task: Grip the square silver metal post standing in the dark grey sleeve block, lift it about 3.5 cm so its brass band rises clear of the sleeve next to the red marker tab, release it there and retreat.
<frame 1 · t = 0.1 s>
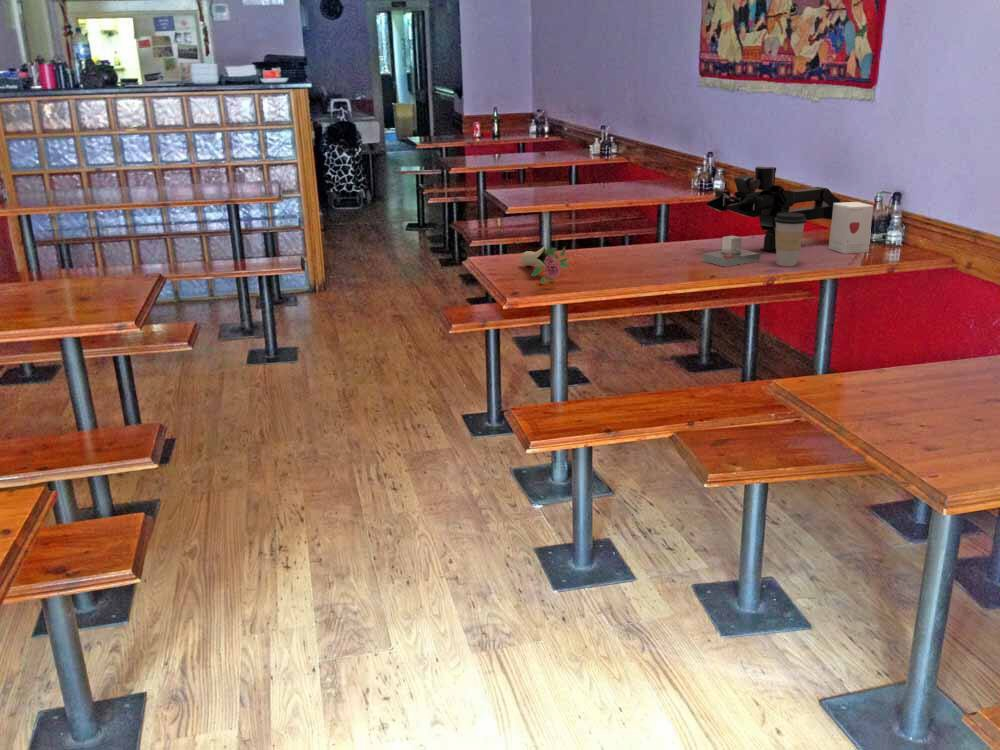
hand: (716, 205, 284), 17 cm above the table, tool horizontal, fingers open, 9 cm apart
coffee cup: (786, 265, 281), on the table
sleeve block: (730, 261, 286), on the table
supplement box: (848, 251, 299), on the table
flower vase: (542, 279, 269), on the table
post: (731, 249, 285), point 4 cm above the table, slide at 0.0 cm
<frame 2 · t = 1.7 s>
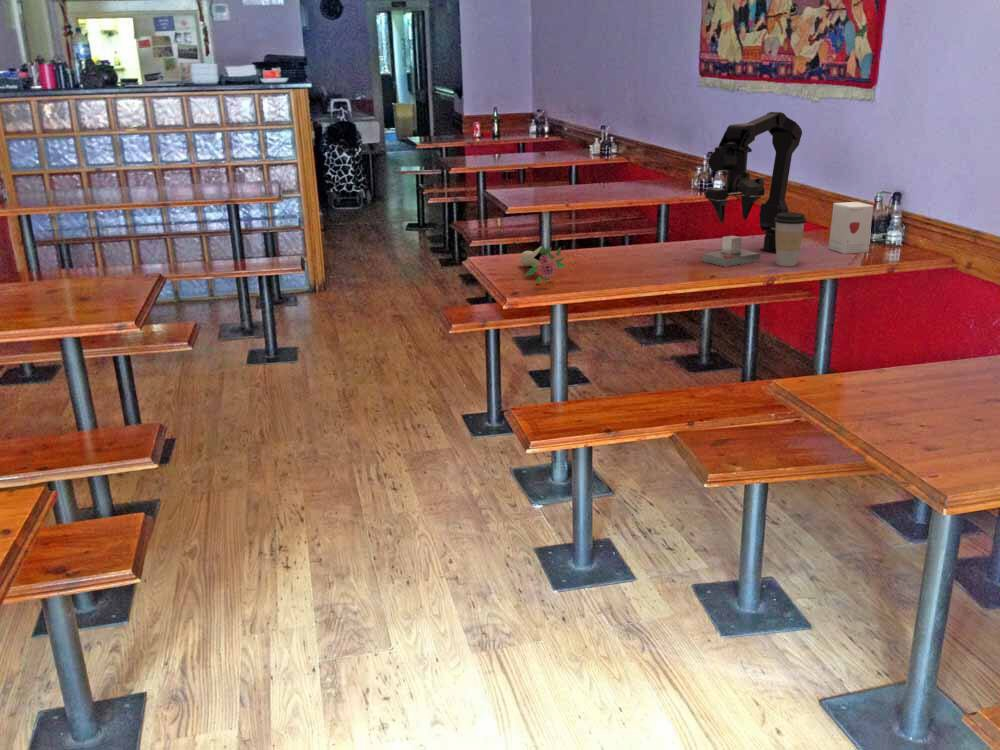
hand: (733, 221, 282), 12 cm above the table, tool pointing down, fingers open, 9 cm apart
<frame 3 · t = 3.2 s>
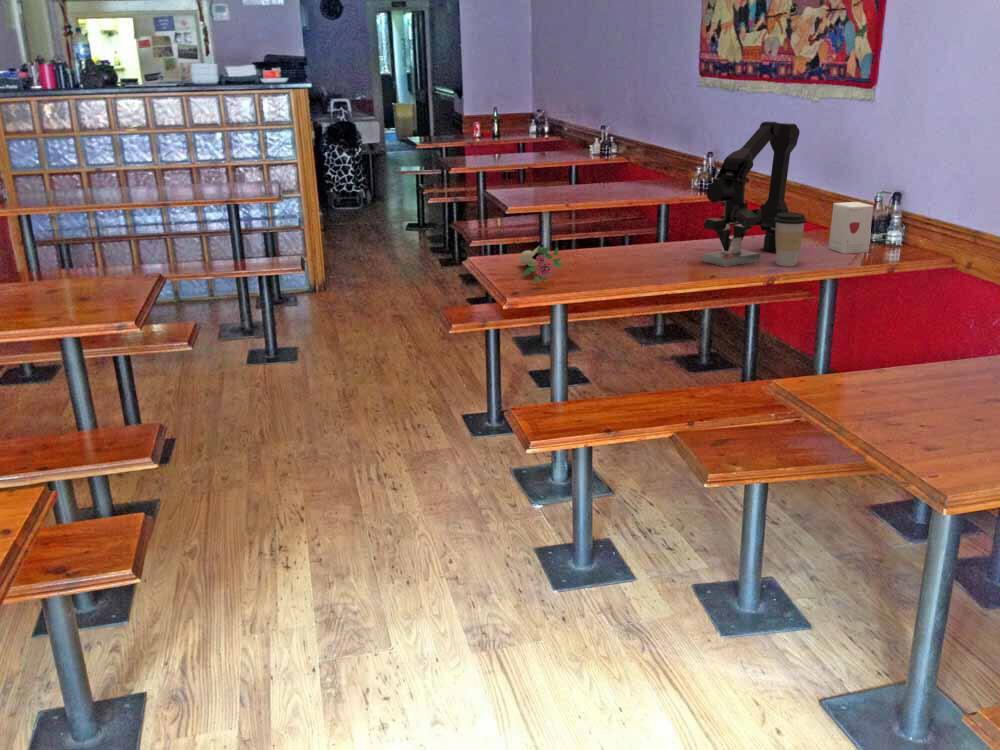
hand: (731, 250, 285), 4 cm above the table, tool pointing down, fingers closed on post, 4 cm apart
post: (731, 249, 285), point 4 cm above the table, slide at 0.0 cm, touching gripper
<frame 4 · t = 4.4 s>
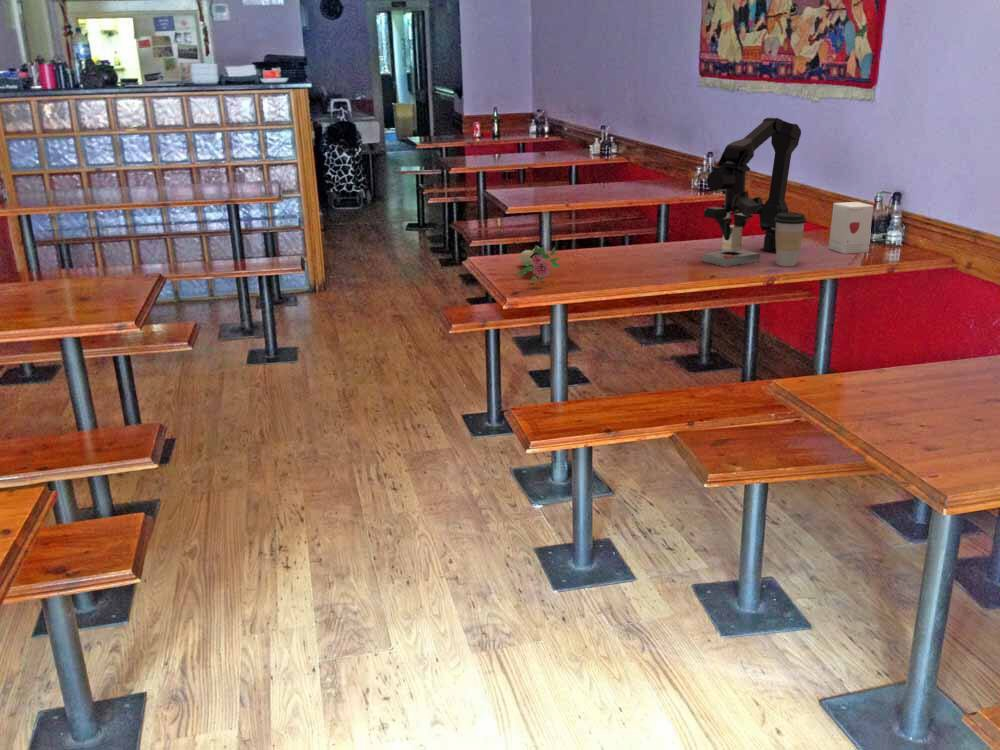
hand: (732, 239, 284), 7 cm above the table, tool pointing down, fingers closed on post, 4 cm apart
post: (732, 238, 284), point 7 cm above the table, slide at 3.4 cm, touching gripper
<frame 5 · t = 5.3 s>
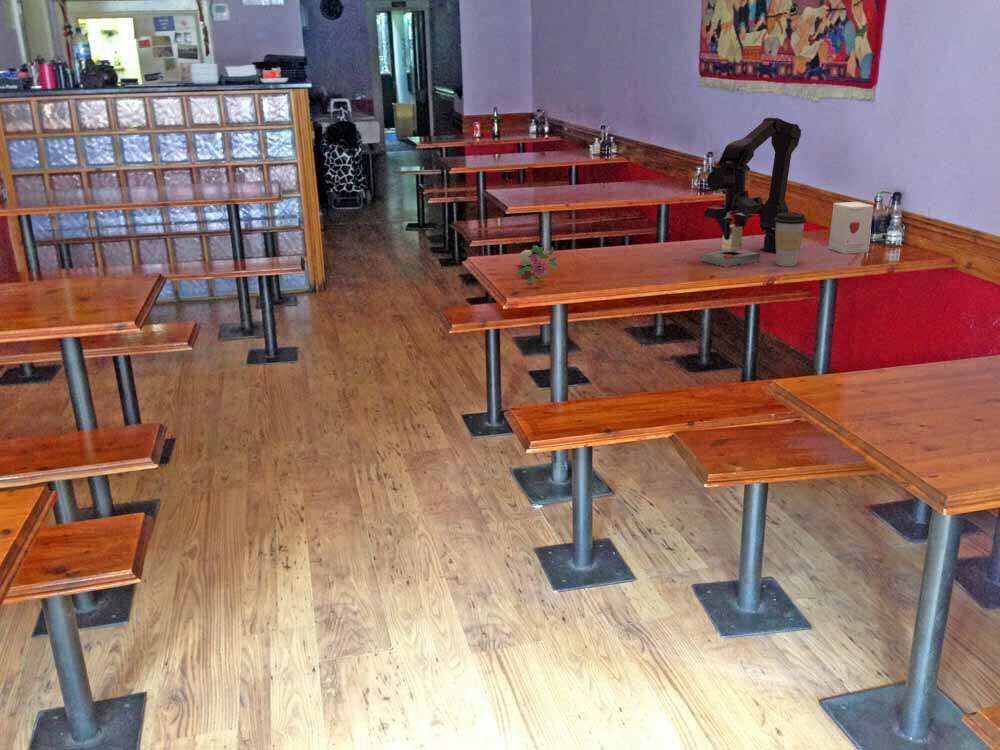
hand: (732, 238, 284), 7 cm above the table, tool pointing down, fingers closed on post, 4 cm apart
post: (732, 238, 284), point 7 cm above the table, slide at 3.4 cm, touching gripper
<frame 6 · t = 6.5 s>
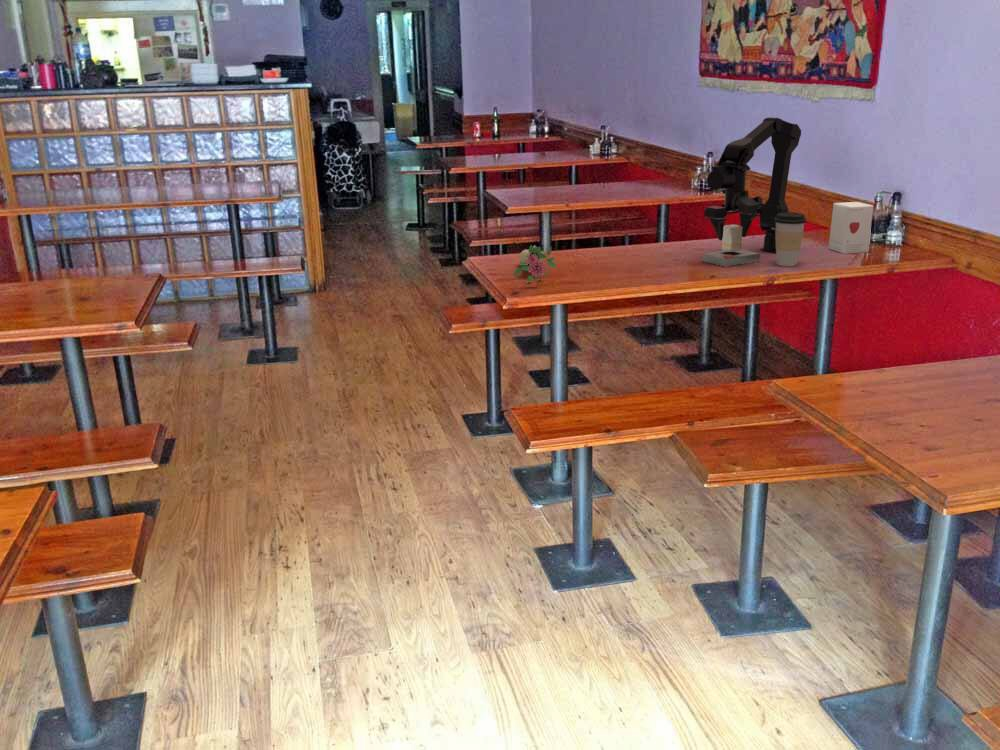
hand: (732, 238, 284), 7 cm above the table, tool pointing down, fingers open, 9 cm apart
post: (732, 238, 284), point 7 cm above the table, slide at 3.5 cm
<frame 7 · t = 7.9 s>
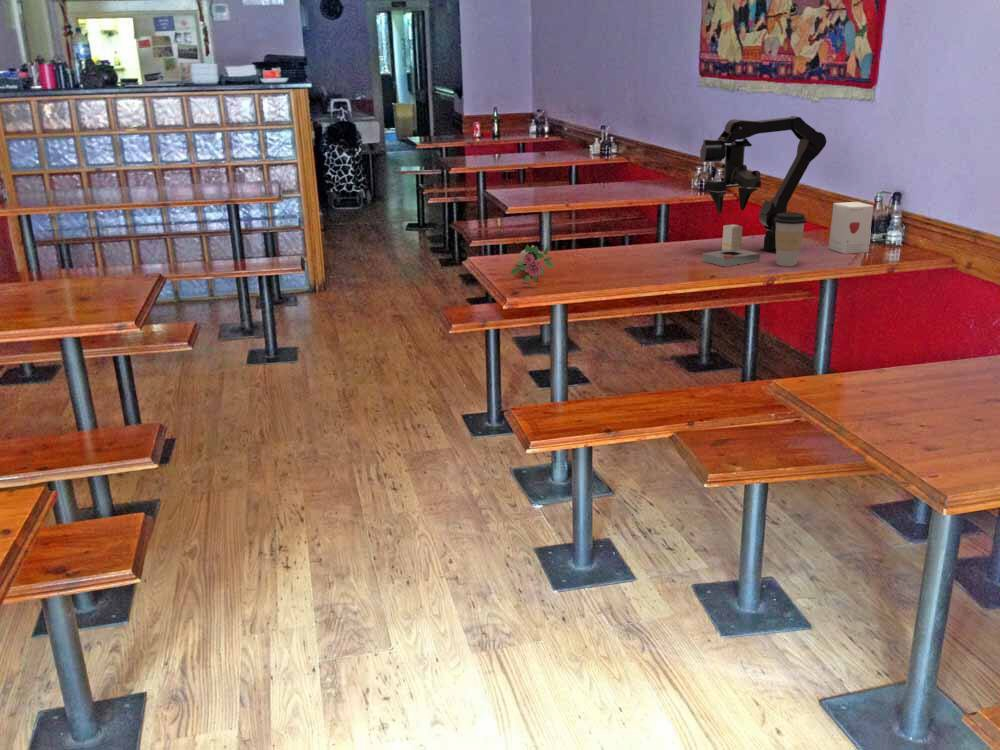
hand: (731, 211, 295), 13 cm above the table, tool pointing down, fingers open, 9 cm apart
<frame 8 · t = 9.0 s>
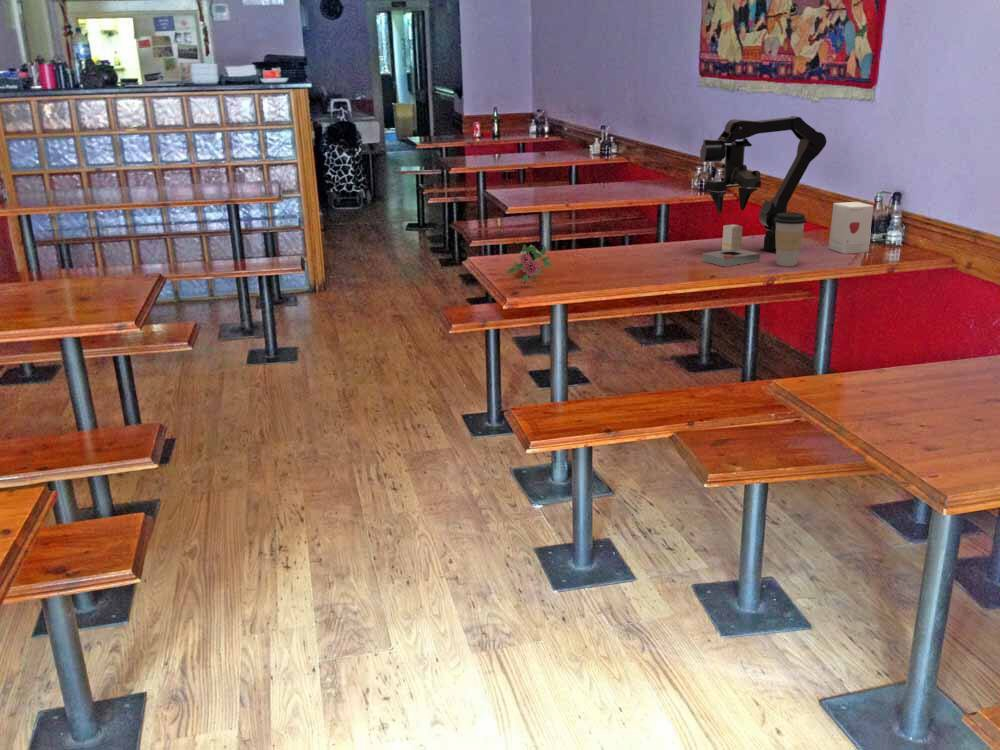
hand: (731, 211, 295), 13 cm above the table, tool pointing down, fingers open, 9 cm apart
at the end: post slide at 3.5 cm; the gripper is holding nothing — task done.
